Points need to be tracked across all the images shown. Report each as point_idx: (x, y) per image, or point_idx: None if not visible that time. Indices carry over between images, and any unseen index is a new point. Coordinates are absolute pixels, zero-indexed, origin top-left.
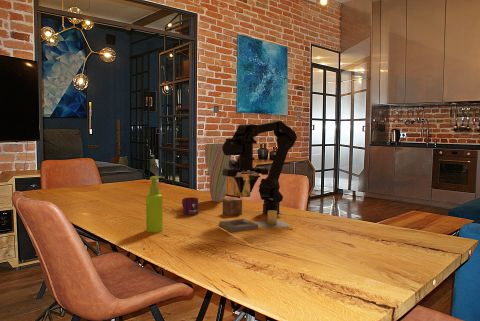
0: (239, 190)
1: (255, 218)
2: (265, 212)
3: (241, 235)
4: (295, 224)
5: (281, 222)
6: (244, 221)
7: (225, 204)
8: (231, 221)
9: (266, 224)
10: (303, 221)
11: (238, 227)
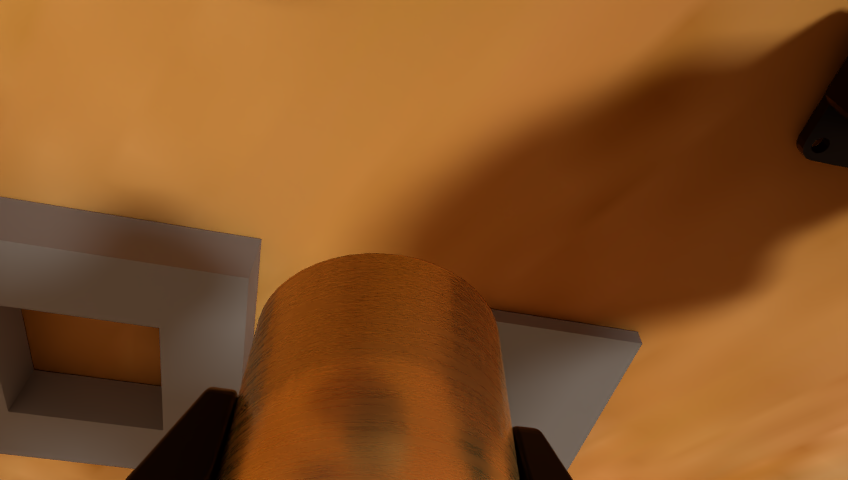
0: (170, 443)
1: (561, 120)
2: (837, 100)
3: (38, 466)
4: (638, 468)
5: (564, 429)
6: (172, 363)
7: None
8: (23, 297)
9: None
10: (789, 447)
11: (23, 451)
